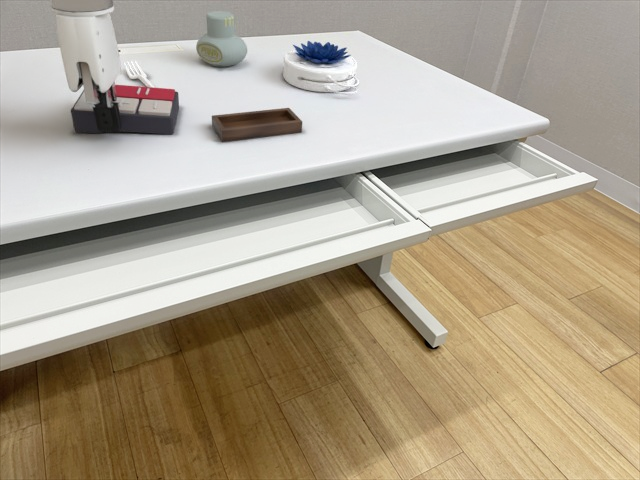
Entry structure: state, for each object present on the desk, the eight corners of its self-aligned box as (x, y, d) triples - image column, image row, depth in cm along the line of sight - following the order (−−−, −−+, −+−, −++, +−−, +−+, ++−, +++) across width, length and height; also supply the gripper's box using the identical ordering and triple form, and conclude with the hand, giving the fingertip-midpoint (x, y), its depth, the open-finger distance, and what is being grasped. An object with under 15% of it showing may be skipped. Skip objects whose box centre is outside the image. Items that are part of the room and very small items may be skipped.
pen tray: (222, 142, 76) (221, 130, 75) (212, 126, 80) (211, 115, 79) (301, 132, 81) (302, 121, 80) (288, 118, 85) (289, 107, 84)
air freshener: (190, 61, 104) (186, 12, 98) (215, 52, 110) (213, 6, 104) (230, 73, 100) (229, 23, 94) (253, 64, 106) (253, 16, 100)
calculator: (172, 113, 74) (68, 106, 71) (173, 138, 77) (73, 132, 74) (178, 87, 83) (85, 79, 80) (179, 110, 85) (90, 104, 82)
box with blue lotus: (271, 37, 100) (320, 69, 87) (333, 33, 107) (386, 61, 94) (270, 70, 104) (316, 105, 91) (330, 64, 111) (381, 95, 98)
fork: (159, 108, 84) (157, 97, 83) (123, 71, 96) (121, 61, 95) (176, 105, 85) (175, 95, 84) (139, 69, 98) (137, 60, 97)
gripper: (69, -16, 67) (98, 108, 78) (27, 9, 55) (68, 151, 66) (125, -13, 67) (145, 110, 79) (95, 13, 56) (124, 152, 67)
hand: (110, 128), depth 72 cm, fingers closed
